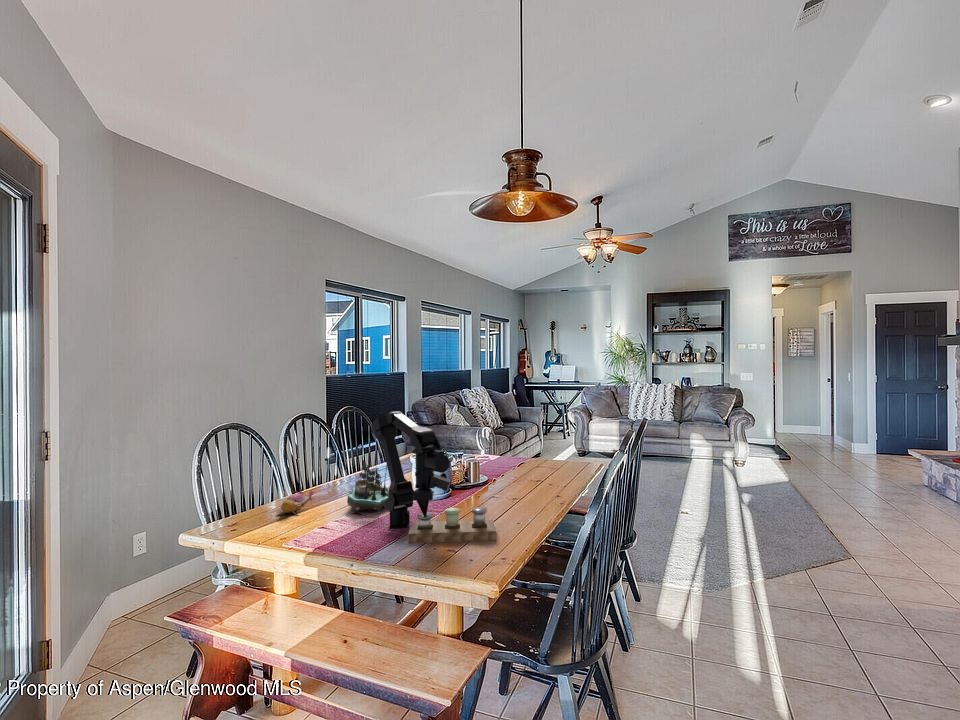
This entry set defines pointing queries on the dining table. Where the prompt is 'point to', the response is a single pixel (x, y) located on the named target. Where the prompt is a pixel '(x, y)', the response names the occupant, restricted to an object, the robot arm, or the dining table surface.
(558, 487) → the dining table surface
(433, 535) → the walnut board
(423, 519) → the plunger
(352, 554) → the dining table surface
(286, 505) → the figurine
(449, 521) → the sage plug
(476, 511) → the plunger
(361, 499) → the diorama
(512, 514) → the dining table surface
